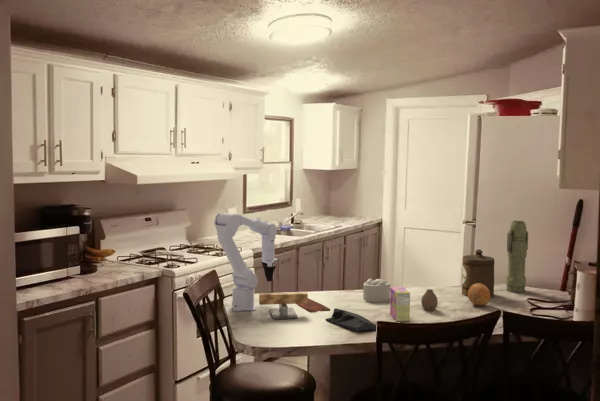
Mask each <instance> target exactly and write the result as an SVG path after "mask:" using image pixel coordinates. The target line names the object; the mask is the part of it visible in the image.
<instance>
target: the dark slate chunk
mask: <svg viewBox="0 0 600 401" xmlns="http://www.w3.org/2000/svg"><path fill="white" fill-rule="evenodd" d="M325 321H327V322H330V323H331V324H333V325H336V326H340V327H343V328H345V329H348V330H350V331H353V332H364V331H366V332H367V331H377V330H376V325H377V323H373V322H372V321H370V320H369V319H368V318H366V317H364V316H363V315H360V314H359V313H358V314H357V313H355V312H351V311H348V310H345V309H341V308H333V312H332V314H331V317H328V318H326V319H325Z"/></svg>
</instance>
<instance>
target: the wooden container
mask: <svg viewBox="0 0 600 401" xmlns="http://www.w3.org/2000/svg"><path fill="white" fill-rule="evenodd" d="M461 273H462V275H461V294H462V295H463V296H466V297H468V290H469V289H470V287H471V286H472V285H473V284H477V283H481V284H483V285H485V286H486V287H487V288H488V289H489V291H490V298H493V297H494V296H495V293H494V292H495V257H492V256H487V255H484V254H483V250H481V249H476V250H475V254H468V255H464V256H463V257H462V272H461Z"/></svg>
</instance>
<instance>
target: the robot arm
mask: <svg viewBox="0 0 600 401" xmlns="http://www.w3.org/2000/svg"><path fill="white" fill-rule="evenodd" d="M213 221H214V222H213V225H214V227H215V229H216V235H217V240H218V242H219V244H220V246H221V248H222V250H223V252H224V254H225V255H226V257H227V260H228V261H229V263H230V266H231V267H232V273H231V276H232V278H233V281H232V282H233V285H235V288H232V295H231V296H232V297H231V298H232V301H231V306H232V311H233V312H235V311H236V312H239V311H241V312H243V311H255V310H256V307H255V301H254V300H255V288H256V287H257V285H258V282H259V279H258V278H259V277H258V276H257V275H256V274H255V273H254V272H253V270H252V269H250V268H249V267H247V265H246V262H245V261H244V259H243V257H242V255H241V253H240V251H239V249H238V247H237V245H236V243H235V241H234V238H233V237H235V235H236V233H237V232H238V230H239V227H240V226H242V225H243V226H246V227H248V228H249V229H250V231H252V232H255V233H257V234H259V235H260V236H261V265H262V268H263V271H264V277H265V278H266V282H272V281H273V277H274V272H275V270H276V267H277V266H276V265H274V263H275V262H277V261H278V258H275V257H276V256H275V252H276V251H275V250H276V249H275V248H276V247H275V246H276V244H275V240H276V236H277V233H278V229H277V226H276V225H275V224H274V223H270V222H268V220H262V219H261V218H260V217H256V218H255V217H254V218H249V217H247V216H244V215H242V214H237V213H225V212H218V213H217V214H216V215H215V218H214V220H213Z"/></svg>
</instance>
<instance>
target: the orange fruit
mask: <svg viewBox="0 0 600 401" xmlns="http://www.w3.org/2000/svg"><path fill="white" fill-rule="evenodd" d="M467 298H468V300H469V302H470V303H472V304H473V305H474V306H478V307H479V306H481V307H482V306H485V305H487V304H488V303H489V301H490V300H491V297H490V291H489V289H488V288H487V287H486V286H485V285H483V284H481V283H477V284H473V285H472V286H471V287H470V289H469V290H468V296H467Z"/></svg>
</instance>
